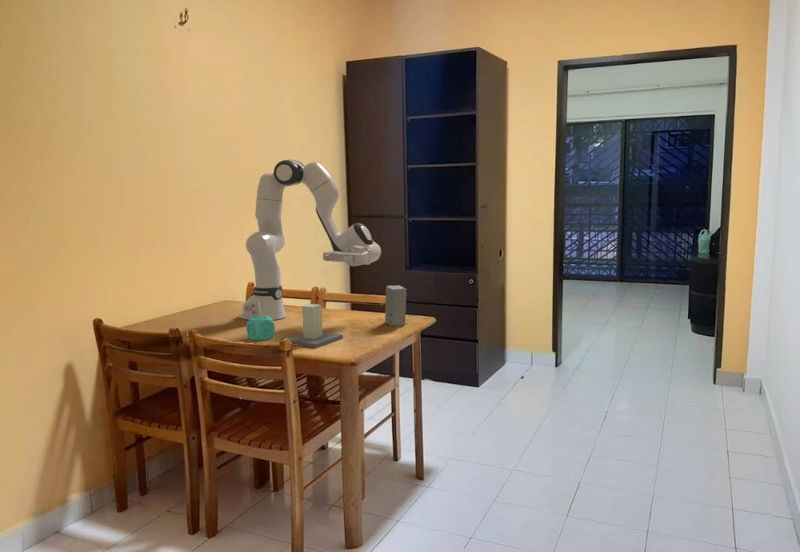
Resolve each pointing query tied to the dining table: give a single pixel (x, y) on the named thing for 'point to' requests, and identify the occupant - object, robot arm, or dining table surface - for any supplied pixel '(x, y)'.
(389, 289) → the skincare box
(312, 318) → the sage block
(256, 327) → the decorative dice
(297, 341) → the slate board
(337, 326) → the dining table surface
